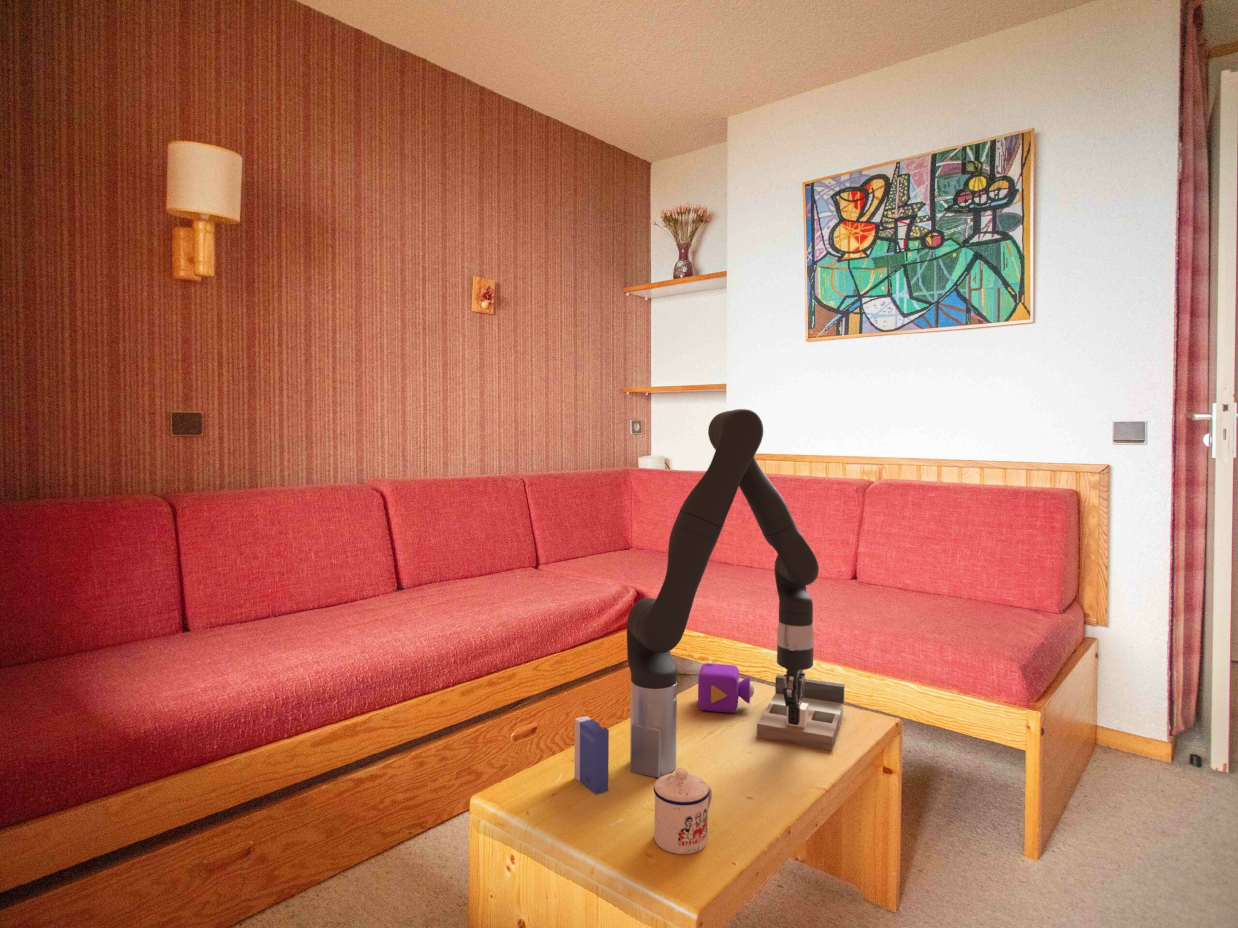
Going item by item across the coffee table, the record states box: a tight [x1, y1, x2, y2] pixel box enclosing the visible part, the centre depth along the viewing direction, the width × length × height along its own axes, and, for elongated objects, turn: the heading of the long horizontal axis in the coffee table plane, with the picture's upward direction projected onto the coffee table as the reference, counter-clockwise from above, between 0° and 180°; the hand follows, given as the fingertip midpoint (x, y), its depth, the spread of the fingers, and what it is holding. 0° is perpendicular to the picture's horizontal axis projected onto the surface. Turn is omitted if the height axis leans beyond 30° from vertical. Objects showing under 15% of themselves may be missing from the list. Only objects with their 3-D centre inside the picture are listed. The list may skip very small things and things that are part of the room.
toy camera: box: [697, 660, 755, 714], centre depth 172 cm, size 11×14×10 cm
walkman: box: [574, 715, 610, 796], centre depth 134 cm, size 8×3×12 cm, turn 34°
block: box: [786, 703, 808, 728], centre depth 155 cm, size 4×4×4 cm
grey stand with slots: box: [756, 674, 845, 752], centre depth 162 cm, size 22×16×7 cm
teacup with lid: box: [653, 767, 713, 855], centre depth 116 cm, size 12×9×12 cm
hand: (793, 723), depth 150 cm, fingers closed
